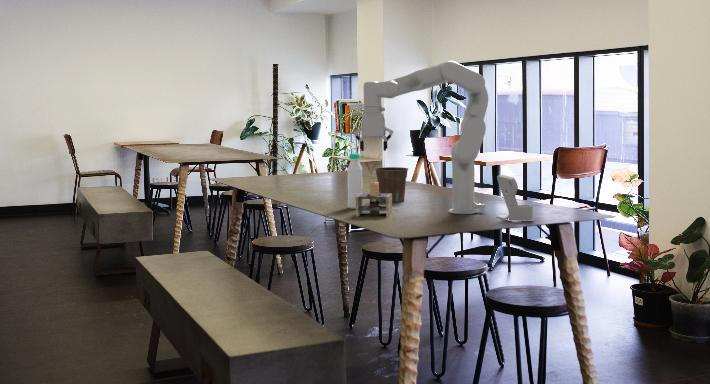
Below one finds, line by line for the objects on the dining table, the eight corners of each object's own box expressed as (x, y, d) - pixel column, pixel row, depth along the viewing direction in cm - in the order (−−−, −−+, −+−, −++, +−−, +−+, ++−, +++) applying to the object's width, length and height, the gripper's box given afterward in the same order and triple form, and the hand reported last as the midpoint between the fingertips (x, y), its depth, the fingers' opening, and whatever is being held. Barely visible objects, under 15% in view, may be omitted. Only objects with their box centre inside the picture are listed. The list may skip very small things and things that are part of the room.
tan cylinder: (380, 214, 364) (379, 182, 362) (378, 215, 360) (378, 182, 358) (370, 213, 365) (370, 182, 363) (369, 215, 361) (368, 182, 359)
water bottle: (354, 206, 391) (353, 153, 388) (366, 207, 386) (365, 153, 384) (344, 208, 386) (343, 154, 383) (356, 209, 381) (355, 154, 378)
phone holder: (535, 221, 334) (535, 176, 332) (511, 223, 332) (511, 177, 330) (517, 215, 351) (517, 173, 349) (495, 217, 349) (495, 174, 347)
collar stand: (392, 212, 367) (391, 193, 366) (388, 216, 355) (388, 196, 354) (360, 212, 369) (360, 193, 369) (356, 216, 358) (355, 196, 357)
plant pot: (415, 201, 405) (415, 168, 403) (388, 204, 396) (388, 170, 394) (395, 198, 418) (394, 166, 417) (368, 201, 409) (368, 168, 408)
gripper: (393, 110, 360) (394, 149, 362) (354, 111, 363) (355, 150, 364) (391, 110, 352) (392, 151, 354) (351, 111, 355) (352, 151, 357)
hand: (373, 150), depth 359 cm, fingers open, 9 cm apart
